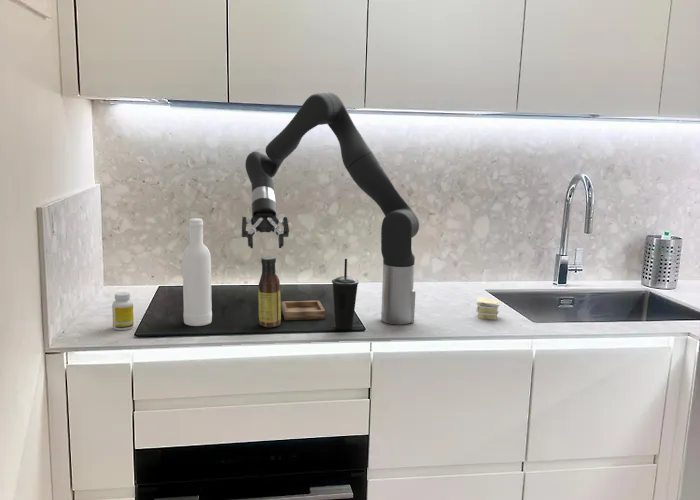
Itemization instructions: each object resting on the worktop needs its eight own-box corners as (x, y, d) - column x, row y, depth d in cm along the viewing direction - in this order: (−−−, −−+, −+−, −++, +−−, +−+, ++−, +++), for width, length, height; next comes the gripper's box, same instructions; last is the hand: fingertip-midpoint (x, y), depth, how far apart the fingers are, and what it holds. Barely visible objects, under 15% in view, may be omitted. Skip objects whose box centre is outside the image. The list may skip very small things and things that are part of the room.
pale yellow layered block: (504, 316, 196) (505, 299, 195) (500, 323, 188) (501, 306, 187) (472, 312, 199) (473, 295, 198) (467, 319, 191) (468, 302, 190)
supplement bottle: (137, 328, 174) (136, 293, 172) (119, 332, 170) (117, 297, 168) (127, 323, 177) (126, 290, 176) (109, 327, 173) (107, 293, 172)
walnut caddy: (319, 308, 198) (319, 300, 198) (325, 318, 187) (325, 310, 186) (281, 309, 196) (281, 301, 196) (284, 320, 185) (285, 312, 184)
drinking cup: (362, 329, 178) (364, 260, 174) (338, 332, 174) (340, 262, 170) (348, 322, 184) (350, 255, 181) (325, 325, 180) (327, 257, 177)
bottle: (196, 328, 175) (194, 221, 170) (177, 322, 180) (175, 219, 174) (217, 321, 182) (216, 219, 176) (199, 316, 186) (197, 216, 181)
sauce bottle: (270, 320, 184) (270, 254, 181) (285, 324, 180) (285, 257, 177) (253, 325, 179) (253, 257, 176) (268, 329, 175) (268, 260, 172)
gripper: (241, 196, 192) (242, 239, 183) (287, 197, 195) (290, 239, 186) (240, 211, 198) (241, 254, 189) (285, 211, 201) (288, 253, 192)
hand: (266, 246), depth 187 cm, fingers open, 8 cm apart
